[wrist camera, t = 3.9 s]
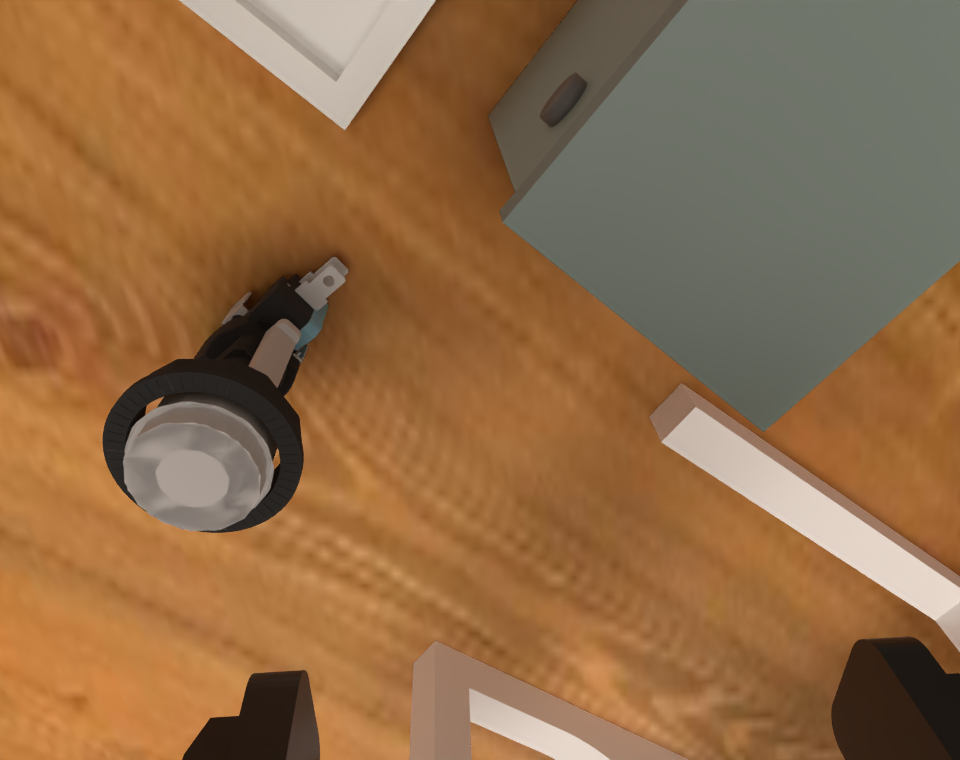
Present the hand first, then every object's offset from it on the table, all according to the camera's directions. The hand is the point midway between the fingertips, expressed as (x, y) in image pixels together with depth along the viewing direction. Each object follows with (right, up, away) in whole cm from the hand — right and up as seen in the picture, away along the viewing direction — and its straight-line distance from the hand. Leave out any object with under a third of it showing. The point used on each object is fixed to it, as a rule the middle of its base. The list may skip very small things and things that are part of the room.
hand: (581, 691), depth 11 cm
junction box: (+4, +15, +14) cm, 21 cm away
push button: (-9, +7, +17) cm, 21 cm away
